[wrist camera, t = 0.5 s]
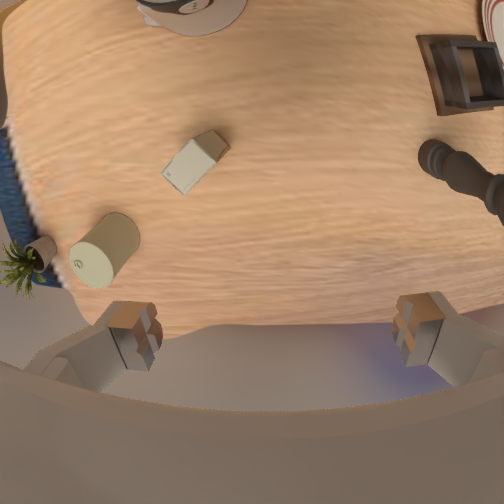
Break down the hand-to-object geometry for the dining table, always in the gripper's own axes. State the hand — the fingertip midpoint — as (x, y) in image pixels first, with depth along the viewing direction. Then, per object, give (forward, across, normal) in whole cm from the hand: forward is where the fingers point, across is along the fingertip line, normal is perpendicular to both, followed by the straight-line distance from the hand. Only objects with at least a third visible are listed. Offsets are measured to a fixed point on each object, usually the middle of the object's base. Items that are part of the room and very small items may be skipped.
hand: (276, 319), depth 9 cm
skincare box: (+38, +10, -3) cm, 40 cm away
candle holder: (+39, -27, -2) cm, 47 cm away
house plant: (+40, +51, +12) cm, 66 cm away
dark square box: (+37, -32, -18) cm, 52 cm away
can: (+40, +31, +10) cm, 51 cm away
